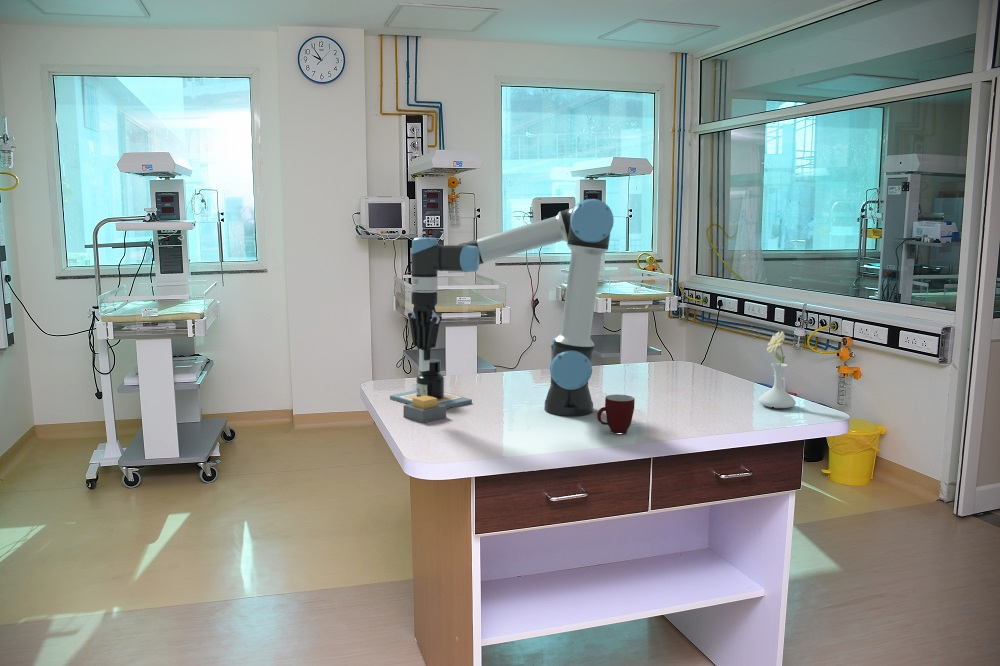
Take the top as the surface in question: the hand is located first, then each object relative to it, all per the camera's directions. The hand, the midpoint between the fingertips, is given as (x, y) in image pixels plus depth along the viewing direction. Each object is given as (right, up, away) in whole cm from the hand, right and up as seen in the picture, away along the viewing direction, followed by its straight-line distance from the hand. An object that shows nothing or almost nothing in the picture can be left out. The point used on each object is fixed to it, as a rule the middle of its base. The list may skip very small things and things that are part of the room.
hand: (424, 370), depth 227 cm
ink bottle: (0, -10, +22) cm, 24 cm away
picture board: (0, -11, +22) cm, 24 cm away
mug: (+55, -17, -12) cm, 58 cm away
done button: (0, -12, +2) cm, 12 cm away
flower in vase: (+111, -13, +19) cm, 113 cm away
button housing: (0, -14, +2) cm, 14 cm away
